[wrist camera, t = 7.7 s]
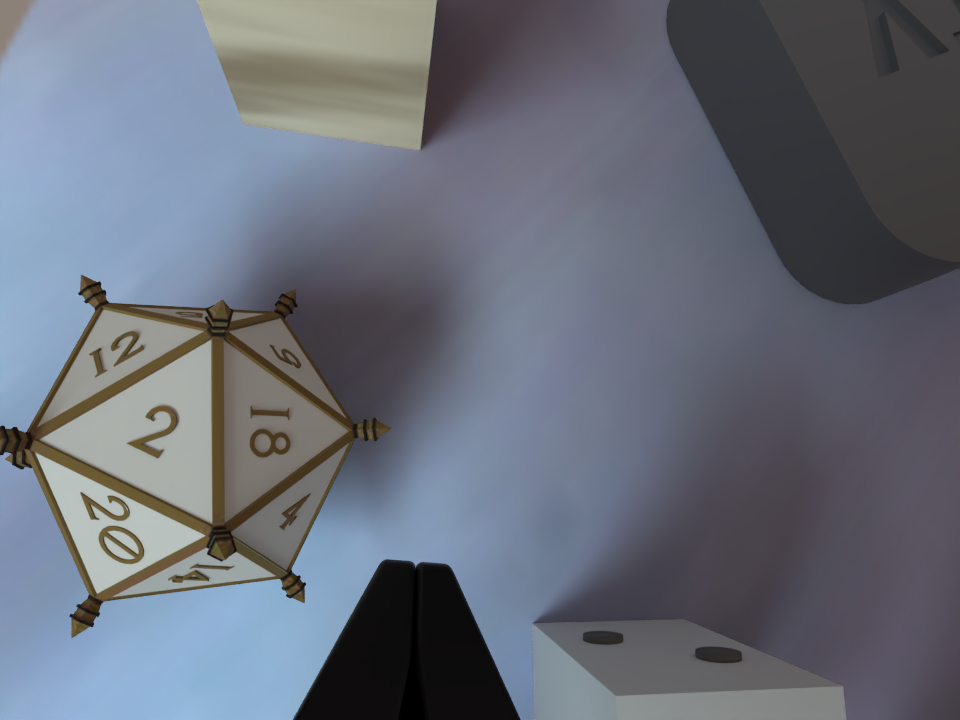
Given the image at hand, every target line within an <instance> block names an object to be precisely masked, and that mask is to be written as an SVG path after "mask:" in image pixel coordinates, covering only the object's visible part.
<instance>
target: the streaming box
mask: <svg viewBox="0 0 960 720" xmlns="http://www.w3.org/2000/svg"><path fill="white" fill-rule="evenodd" d="M667 32H668V36H669V40H670V44H671V46H672V48H673V51H674V53H675V55H676V57H677V59H678V61H679V63H680V65H681V67H682V69H683V71H684V73H685V75H686V77H687V78H688V80H689V82H690V84H691V86H692V88H693V90H694V92H695V94H696V96H697V98H698V100H699V102H700V104H701V106H702V108H703V110H704V112H705V114H706V115H707V117H708V119H709V121H710V123H711V125H712V127H713V129H714V131H715V133H716V135H717V137H718V139H719V141H720V143H721V145H722V147H723V149H724V150H725V152H726V154H727V156H728V158H729V160H730V162H731V164H732V166H733V168H734V170H735V172H736V174H737V176H738V178H739V180H740V182H741V184H742V186H743V187H744V189H745V191H746V193H747V195H748V197H749V199H750V201H751V203H752V205H753V207H754V209H755V211H756V213H757V215H758V217H759V219H760V221H761V222H762V224H763V226H764V228H765V230H766V232H767V234H768V236H769V238H770V240H771V242H772V244H773V246H774V248H775V250H776V252H777V254H778V255H779V257H780V259H781V260H782V262H783V264H784V265H785V267H786V268H787V269H788V271H789V272H790V273H791V274H792V275H793V277H795V278H796V279H797V280H798V281H799V282H800V283H801V284H802V285H803V286H805V287H806V288H808V289H809V290H810V291H812V292H813V293H815V294H817V295H819V296H821V297H823V298H826V299H829V300H832V301H835V302H839V303H845V304H862V303H868V302H872V301H875V300H878V299H881V298H883V297H886V296H888V295H891V294H894V293H896V292H899V291H901V290H904V289H906V288H909V287H912V286H914V285H917V284H919V283H922V282H924V281H927V280H930V279H932V278H935V277H937V276H940V275H942V274H945V273H948V272H950V271H953V270H955V269H958V268H960V0H670V3H669V6H668V10H667Z"/></svg>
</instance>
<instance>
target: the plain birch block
mask: <svg viewBox="0 0 960 720" xmlns="http://www.w3.org/2000/svg"><path fill="white" fill-rule="evenodd" d="M197 3H198V5H199V8H200V11H201V13H202V16H203V19H204V21H205V24H206V26H207V29H208V32H209V34H210V37H211V40H212V42H213V45H214V48H215V50H216V53H217V56H218V58H219V61H220V63H221V66H222V69H223V71H224V74H225V77H226V79H227V82H228V85H229V87H230V90H231V93H232V95H233V98H234V101H235V103H236V106H237V108H238V111H239V114H240V116H241V119H242V122H243V124H244V125H250V126H257V127H264V128H271V129H278V130H285V131H291V132H298V133H305V134H312V135H319V136H326V137H332V138H339V139H346V140H353V141H360V142H367V143H373V144H380V145H387V146H394V147H401V148H408V149H414V150H420V148H421V139H422V130H423V121H424V112H425V103H426V94H427V85H428V76H429V67H430V58H431V49H432V41H433V32H434V23H435V14H436V5H437V0H197Z"/></svg>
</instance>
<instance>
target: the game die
mask: <svg viewBox="0 0 960 720" xmlns="http://www.w3.org/2000/svg"><path fill="white" fill-rule="evenodd" d="M78 294H79V295H82V296H83V297H84V298H85V301H84V302H85V303H89V304H91V305H92V306H93V307H94V308H95V313H94V314H93V316H92V318H91V320H90V321H89V323H88V325H87V327H86V328H85V330H84V332H83V334H82V335H81V337H80V339H79V341H78V342H77V344H76V346H75V348H74V349H73V351H72V353H71V355H70V357H69V358H68V360H67V362H66V364H65V365H64V367H63V369H62V371H61V372H60V374H59V376H58V378H57V379H56V381H55V383H54V385H53V386H52V388H51V390H50V392H49V393H48V395H47V397H46V399H45V400H44V402H43V404H42V406H41V408H40V409H39V411H38V413H37V415H36V416H35V418H34V420H33V422H32V423H31V425H30V427H29V429H28V430H27V432H26V433H24V432H22V431H19V430H18V429H17V427H13V428H12V429H5V426H1V427H0V455H3V454H4V452H9V453H11V455H10V456H8V457H7V458H6V459H5V460H7V461H9V462H11V463H12V465H14V466H16V467H18V468H20V469H24V467H29V468H33V470H34V472H35V474H36V477H37V479H38V481H39V483H40V486H41V488H42V490H43V492H44V495H45V497H46V499H47V501H48V504H49V506H50V508H51V510H52V512H53V515H54V517H55V519H56V521H57V524H58V526H59V528H60V530H61V533H62V535H63V537H64V539H65V541H66V544H67V546H68V548H69V550H70V553H71V555H72V557H73V559H74V562H75V564H76V566H77V568H78V571H79V573H80V575H81V577H82V579H83V582H84V584H85V586H86V588H87V591H88V593H89V596H88V599H87V600H85V601H84V602H83V603H82V604H81V605H79V604H78V605H77V606H76V607H78V609H77V610H76V612H75V613H74V614H70V617H71V618H72V638H73V637H74V636H76V635H77V634H79V633H81V632H82V631H84V630H85V629H87V628H88V627H90V626H91V627H93V625H94V623H93V621H94V620H95V618H96V616H97V617H99V615H100V613H99V609H100V606H101V604H102V603H103V602H104V601H110V600H118V599H126V598H133V597H141V596H149V595H157V594H164V593H172V592H180V591H188V590H196V589H203V588H211V587H219V586H227V585H234V584H242V583H250V582H258V581H265V580H273V579H281V581H282V585H283V587H282V589H283V590H285V591H286V592H287V595H286V596H287V597H288V598H294V599H296V600H298V601H301V602H303V603H305V593H304V587H305V585H306V583H302V581H301V580H300V578H301V577H300V575H299V576H296V575H295V574H294V573H292V570H291V569H292V567H293V564H294V562H295V560H296V558H297V556H298V554H299V552H300V550H301V548H302V546H303V544H304V542H305V540H306V538H307V536H308V534H309V532H310V530H311V528H312V526H313V523H314V521H315V519H316V517H317V515H318V513H319V511H320V509H321V507H322V505H323V503H324V501H325V499H326V497H327V495H328V493H329V491H330V489H331V487H332V484H333V482H334V480H335V478H336V476H337V474H338V472H339V470H340V468H341V466H342V464H343V462H344V460H345V458H346V456H347V454H348V452H349V450H350V448H351V446H352V443H353V441H354V439H355V438H363V439H365V441H367V440H368V439H374V441H377V439H378V438H379V437H380V436H381V435H382V434H384V433H385V432H387V431H388V430H390V429H391V428H390V427H388V426H386V425H384V424H382V423H380V422H378V421H377V420H376V418H373V420H371V421H367V420H366V419H364V422H362V423H359V424H354V423H353V422H352V420H351V419H350V417H349V416H348V414H347V413H346V411H345V410H344V408H343V407H342V405H341V404H340V402H339V401H338V399H337V398H336V396H335V395H334V393H333V392H332V390H331V389H330V387H329V386H328V384H327V383H326V381H325V380H324V378H323V377H322V375H321V374H320V372H319V371H318V369H317V368H316V366H315V365H314V363H313V362H312V360H311V359H310V357H309V356H308V354H307V353H306V351H305V350H304V348H303V347H302V345H301V344H300V342H299V341H298V339H297V338H296V336H295V334H294V333H293V331H292V330H291V328H290V327H289V325H288V324H287V322H286V321H285V317H286V316H287V315H288V314H292V313H293V311H292V310H293V309H294V307H297V304H296V293H295V290H293V291H291V292H288V293H286V294H282V295H281V296H280V297H279V299H280V300H278V301H277V303H276V304H275V306H276V308H275V311H274V312H267V311H249V310H232V309H230V308H229V307H228V306H227V304H226V303H225V302H224V300H221V301H220V302H218V303H217V304H215V305H213V306H211V307H209V308H192V307H174V306H155V305H136V304H117V303H109V302H108V301H107V300H106V291H105V290H102V288H101V283H100V282H96V281H93V280H91V279H89V278H87V277H85V276H83V275H81V287H80V292H79V293H78Z"/></svg>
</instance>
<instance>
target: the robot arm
mask: <svg viewBox="0 0 960 720" xmlns="http://www.w3.org/2000/svg"><path fill="white" fill-rule="evenodd" d="M293 720H520V717H519V715H518V713H517V711H516V709H515V706H514V704H513V702H512V700H511V698H510V695H509V693H508V691H507V689H506V687H505V684H504V682H503V680H502V678H501V676H500V673H499V671H498V669H497V667H496V665H495V662H494V660H493V658H492V656H491V654H490V651H489V649H488V647H487V645H486V643H485V640H484V638H483V636H482V634H481V632H480V629H479V627H478V625H477V623H476V621H475V618H474V616H473V614H472V612H471V609H470V607H469V605H468V603H467V601H466V598H465V596H464V594H463V592H462V590H461V587H460V585H459V583H458V581H457V579H456V576H455V574H454V572H453V570H452V569H451V567H450V566H449V565H447V564H441V563H428V562H421V563H419V564H417V566H416V569H415V564H414V563H413V562H411V561H402V560H389V559H387V560H384V561H382V562H381V563H380V564H379V566H378V568H377V570H376V571H375V573H374V575H373V577H372V579H371V580H370V582H369V584H368V586H367V588H366V589H365V591H364V593H363V595H362V596H361V598H360V600H359V602H358V604H357V605H356V607H355V609H354V611H353V613H352V614H351V616H350V618H349V620H348V622H347V623H346V625H345V627H344V629H343V631H342V632H341V634H340V636H339V638H338V640H337V641H336V643H335V645H334V647H333V649H332V650H331V652H330V654H329V656H328V657H327V659H326V661H325V663H324V665H323V666H322V668H321V670H320V672H319V674H318V675H317V677H316V679H315V681H314V683H313V684H312V686H311V688H310V690H309V692H308V693H307V695H306V697H305V699H304V701H303V702H302V704H301V706H300V708H299V710H298V711H297V713H296V715H295V717H294V718H293Z"/></svg>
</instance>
